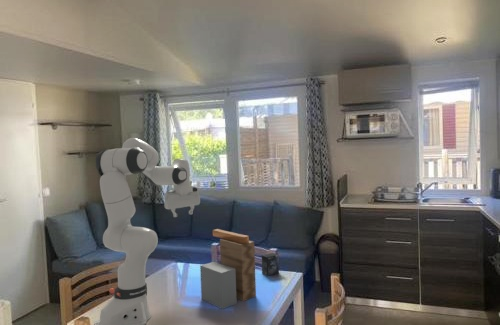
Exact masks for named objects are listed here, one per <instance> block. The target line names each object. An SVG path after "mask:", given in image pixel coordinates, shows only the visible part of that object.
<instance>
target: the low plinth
mask: <svg viewBox="0 0 500 325" xmlns="http://www.w3.org/2000/svg"><path fill="white" fill-rule="evenodd" d="M199 267H200V269H199V270H200V293H201V294H200V295H201V296H200V297H201V300H202V301H203V302H206V303H209V304H211V305H214V306H215V307H218V308H220V309H221V310H223V309H226V308H229V307H232V306H233V305H237V298H236V271H235V268H232V267H229V266H226V265H223V264H221V262H220V263H219V262H216V261H211V262H208V263H207V262H206V263H204V264H200V266H199Z"/></svg>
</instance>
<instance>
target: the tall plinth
mask: <svg viewBox="0 0 500 325" xmlns="http://www.w3.org/2000/svg"><path fill="white" fill-rule="evenodd" d="M255 252H256V251H255V241H253V240H249V243H245V244H244V243H240V242H236V241H231V240H227V239H223V238H220V239H219V253H220V254H219V256H220V257H219V258H220V264H223V265H226V266H229V267H232V268H235V271H236V300H240V301H242V302H244V301H247V300H249V299H253V298H254V297H256V296H257V290H256V289H257V288H256V286H257V285H256V283H257V282H256V257H255V256H256V255H255V254H256V253H255Z"/></svg>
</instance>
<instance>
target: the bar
mask: <svg viewBox="0 0 500 325" xmlns="http://www.w3.org/2000/svg"><path fill="white" fill-rule="evenodd" d="M212 237H215V238H220V239H227V240H231V241H236V242H240V243H244V244H245V243H249V241H250V238H249V235H245V234H242V233H236V232H233V231H227V230H224V229H220V228H216V229H212Z"/></svg>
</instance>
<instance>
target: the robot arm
mask: <svg viewBox="0 0 500 325" xmlns="http://www.w3.org/2000/svg"><path fill="white" fill-rule="evenodd" d="M159 157H160V155H159V153H158V151H157V150H156V149H155V148H154V147H153V146H152V145H150V144H149V143H147V142H146V141H144V140H142V139H140V138H139V139H138V138H136V137H130V138H127V139H126V140H125V141H124V142H123V143H122V147H117V148H112V149H105V150H102V151H99V152H98V153H97V154H96V157H95V160H94V163H95V169H96V171H97V173H98V175H99V176H100V178H99V189H100V195H101V198H102V202H103V204H104V208H105V212H106V215H107V228H106V229H105V231H104V232H103V235H102V244H103V245H104V247H105V248H107V249H108V250H112V251H114V252H119V253H125V260H124V262H122V263H121V264H120V265H119V266H118V268H117V287H116V288H113V287H111V288H110V289H109V293H110V294H112V295H113V297H112V298H111V299H110V300H109V302H107V304H105V305H104V306H103V307H102V309H101V310H100V313H99V319H97V320H95V321H94V325H146V324H147V322H148V321H149V320H150V318H151V317H152V314H151V311H150V309H149V304H148V303H149V302H148V298H147V295H148V285H147V282H146V264H147V261H148V258H149V256H150V255H151V253H153V252H154V251H155V250H156V248H157V246H158V244H159V243H158V240H159V238H158V234H157V232H156V231H155V230H153V229H150V228H148V227H143V226H133V225H132V223H131V219H132V218H133V216H134V215H135V213H136V210H137V209H136V206H135V202H134V199H133V196H132V192H131V189H130V186H129V184H128V181H127V176H128V175H137V174H138V175H139V174H142V175H143V176H144V177H146V179H147V180H148V181H149V183H150V184H151V185H153V186H155V187H157V186H173V190H168V191H166V192H165V193H164V207H163V208H165V209H166V210H170V211H171V212H172V215H173V218H177V217H178V213H176V209H181V208H187V207H190V209H189V210H188V215H193V213H194V210H195V206H200V203H201V196H200V193H199V190H200V188H199V187H196V186H194V185H191V181H190V177H191V173H190V172H191V171H190V163H189V161H188V159H186V158H185V159H184V158H176V159H175V158H174V159H173V162H172V164H171V165H169V166H168V165H165V166H159V165H158V164H159V160H160V158H159Z"/></svg>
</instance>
